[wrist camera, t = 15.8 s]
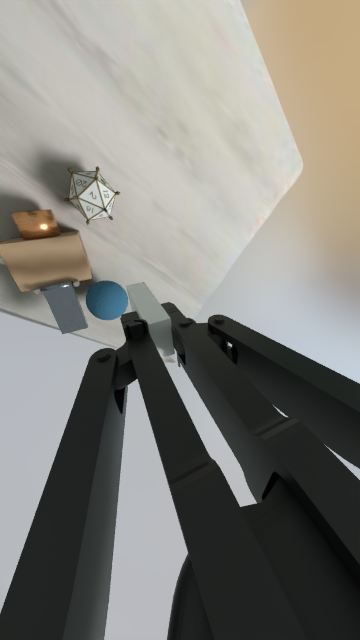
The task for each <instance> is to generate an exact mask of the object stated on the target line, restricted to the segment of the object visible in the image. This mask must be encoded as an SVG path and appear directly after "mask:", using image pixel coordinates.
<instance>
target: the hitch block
mask: <svg viewBox="0 0 360 640" xmlns="http://www.w3.org/2000/svg"><path fill="white" fill-rule="evenodd" d="M0 255H1V257H2V259H3V261H4V262H5V264H6V266H7V268H8V269H9V271H10V273H11V275H12V276H13V278H14V280H15V282H16V283H17V285H18V287H19V289H20V290H21V292H24V291H30V290H33V291H34V293H35V295H37V294H41V292H42V288H41V286H45V285H51V284H56V283H61V282H67V281H71V282H73V284H74V287H77V286H79V284H80V283H79V281H82V280H87V279H92V272H91V266H90V263H89V260H88V257H87V254H86V251H85V248H84V245H83V242H82V239H81V236H80V233H79V231H72V232H64V233H61V234H60V235H57V236H52V237H47V238H40V239H29V240H24V239H23V238H13V239H9V240H6V241H4V242H1V243H0Z"/></svg>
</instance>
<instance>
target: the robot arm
mask: <svg viewBox="0 0 360 640" xmlns="http://www.w3.org/2000/svg"><path fill="white" fill-rule="evenodd" d="M126 287H127V291H128V295H129V299H130V303H131V308H132V312H130V313H126V314H122V316H121V318H120V319H121V323H122V326H123V330H124V333H125V337H126V342H125V343H124V345H123V346H122V347H120V348H119V349H117V350H114V349H112V348H104V349H100V350H98V351H97V352H95V353H94V354H93V355H92V356H91V357H90V359H89V362H88V365H87V368H86V371H85V373H84V376H83V379H82V382H81V385H80V388H79V390H78V393H77V396H76V399H75V402H74V405H73V408H72V410H71V414H70V417H69V419H68V422H67V425H66V428H65V430H64V433H63V436H62V439H61V442H60V445H59V448H58V450H57V454H56V456H55V459H54V462H53V465H52V468H51V470H50V473H49V476H48V479H47V482H46V485H45V488H44V491H43V494H42V496H41V499H40V502H39V505H38V508H37V510H36V513H35V516H34V519H33V522H32V525H31V528H30V531H29V533H28V536H27V539H26V542H25V545H24V548H23V550H22V553H21V556H20V559H19V562H18V565H17V568H16V570H15V573H14V576H13V579H12V582H11V585H10V588H9V590H8V593H7V596H6V599H5V602H4V605H3V608H2V610H1V613H0V640H104V636H105V627H106V619H107V610H108V603H109V592H110V581H111V570H112V559H113V548H114V535H115V525H116V514H117V503H118V491H119V481H120V469H121V459H122V447H123V436H124V425H125V414H126V403H127V391H128V386H127V385H129V384H130V383H132V382H133V381H135V380H136V379H138V382H139V385H140V389H141V392H142V395H143V399H144V402H145V406H146V409H147V412H148V416H149V420H150V423H151V426H152V430H153V433H154V437H155V440H156V444H157V447H158V451H159V454H160V457H161V461H162V464H163V468H164V471H165V474H166V478H167V481H168V485H169V488H170V492H171V495H172V499H173V502H174V505H175V509H176V512H177V516H178V519H179V523H180V526H181V530H182V533H183V536H184V540H185V543H186V547H187V550H188V555H187V557H186V559H185V561H184V563H183V566H182V568H181V571H180V574H179V577H178V580H177V585H176V588H175V593H174V597H173V603H172V609H171V616H170V622H169V629H168V636H167V640H360V480H359V479H358V478H357V477H356V476H355V475H354V474H353V473H352V472H351V471H350V470H349V469H348V468H347V467H346V466H345V465H344V464H343V463H342V462H341V461H340V460H339V459H338V458H337V457H336V456H335V455H334V454H333V453H332V452H331V451H330V450H329V449H328V448H327V447H329V448H330V449H331V450H332V451H334V452H336V453H337V454H338V455H340V456H341V457H342V458H344V459H345V460H347V461H348V462H350V463H351V464H353V465H354V466H356V467H358V468H359V469H360V384H359V383H357V382H355V381H353V380H351V379H349V378H347V377H345V376H343V375H341V374H339V373H337V372H335V371H333V370H331V369H329V368H327V367H325V366H323V365H321V364H319V363H317V362H316V361H313V360H311V359H310V358H307V357H305V356H304V355H302V354H300V353H297V352H296V351H294V350H292V349H290V348H288V347H286V346H284V345H282V344H280V343H278V342H276V341H274V340H272V339H270V338H268V337H266V336H264V335H262V334H260V333H258V332H256V331H254V330H252V329H250V328H248V327H246V326H244V325H242V324H240V323H238V322H236V321H234V320H233V319H230V318H228V317H226V316H223V315H213V316H211V317H209V319H208V323H196V322H195V321H194V320H193V319H190V318H186V317H185V316H184V315H183V314H182V313H181V312H180V311H179V309H178V308H177V307H176V306H175V305H174V304H172V303H170V302H168V303H164V304H160V303H159V302H158V300H157V299H156V298H155V296H154V295H153V294H152V292H151V291H150V290H149V288H148V287H147V286H146V284H145V283H144V282H142V283H137V284H133V285H128V286H126ZM228 342H229V343H231V344H232V347H230V346H228ZM174 348H175V350H176V351H177V359H178V366H179V367H180V363H181V365H182V366H183V368H184V370H185V372H186V373H187V375H188V377H189V378H190V380H191V382H192V383H193V385H194V387H195V388H196V390H197V392H198V394H199V396H200V397H201V399H202V400H203V402H204V404H205V406H206V407H207V409H208V411H209V412H210V414H211V416H212V418H213V419H214V421H215V423H216V424H217V426H218V428H219V429H220V431H221V433H222V435H223V437H224V438H225V440H226V442H227V443H228V445H229V447H230V448H231V450H232V452H233V453H234V455H235V457H236V459H237V460H238V462H239V464H240V466H241V468H242V470H243V472H244V476H245V479H246V482H247V484H248V487H249V489H250V491H251V493H252V495H253V496H254V498H255V500H256V502H257V504H252V505H248V506H243V507H240V506H239V504H238V502H237V500H236V498H235V496H234V494H233V492H232V490H231V489H230V486H229V484H228V482H227V480H226V478H225V476H224V474H223V473H222V471H221V469H220V467H219V466H218V464H217V463H216V461H215V460H213V459H212V458H211V457H210V456H209V454H208V452H207V450H206V448H205V446H204V444H203V442H202V440H201V438H200V436H199V434H198V432H197V430H196V428H195V426H194V424H193V422H192V419H191V417H190V415H189V413H188V411H187V409H186V407H185V405H184V403H183V401H182V399H181V397H180V395H179V393H178V391H177V389H176V387H175V385H174V383H173V381H172V379H171V376H170V375H169V373H168V370H167V368H166V366H165V364H164V362H163V360H162V358H163V357H166V356H169V355H172V354H175V351H174ZM273 405H274V406H275V407H276V408H278V409H279V410H280V411H281V412H283V413H284V414H285V415H287V416H288V417H285V416H283V415H282V414H280V413H279V412H278V411H277V409H276V408H275V407H274V406H273ZM324 444H325V445H326V446H327V447H326V446H325V445H324Z"/></svg>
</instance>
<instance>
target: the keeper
mask: <svg viewBox="0 0 360 640" xmlns="http://www.w3.org/2000/svg"><path fill="white" fill-rule="evenodd" d="M41 288H42V291H43V293H44V295H45V297H46V299H47V302H48V304H49V306H50V308H51V310H52V313H53V315H54V317H55V319H56V321H57V324H58V326H59V328H60V330H61V332H62V334H65V333H69V332H73V331H77V330H81V329H85V328H88V324H87V321H86V319H85V316H84V313H83V311H82V308H81V305H80V303H79V300H78V297H77V295H76V292H75V289H74V287H73V284H72V282H71V281H67V282H61V283H56V284H51V285H45V286H41Z"/></svg>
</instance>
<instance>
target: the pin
mask: <svg viewBox="0 0 360 640" xmlns="http://www.w3.org/2000/svg"><path fill="white" fill-rule="evenodd" d="M10 214H11V216H12V218H13V220H14V222H15V224H16V226H17V228H18V230H19V232H20V234H21V236H22V238H23V239H24V240H29V239H40V238H47V237H52V236H57V235H60V234H61V233H60V231H59V228H58V225H57V223H56V220H55V218H54V215H53V212H52V210H39V211H27V212H15V213H10Z"/></svg>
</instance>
